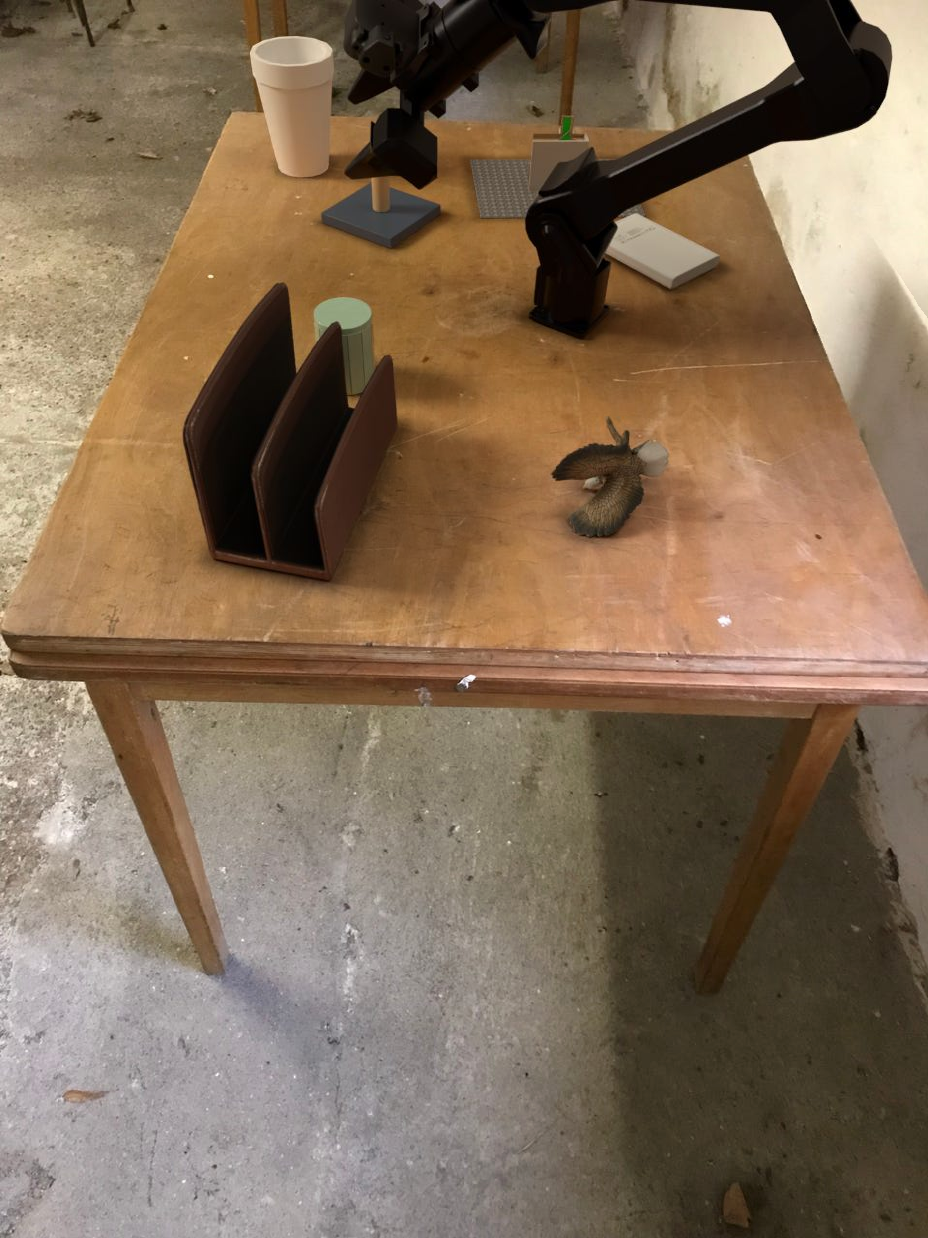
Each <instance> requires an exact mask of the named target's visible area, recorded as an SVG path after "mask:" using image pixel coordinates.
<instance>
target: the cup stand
mask: <svg viewBox="0 0 928 1238" xmlns="http://www.w3.org/2000/svg"><path fill="white" fill-rule="evenodd" d="M370 179H371V182H369V183H367V184H366V185H364V186H362V187H361V188H359V189H357V190H356V191H355V192H353V193H351V194H349V195H348V196H347V197H345V198H343V199H342V200H340V201H338V202H337V203H335V204H333V205H332V206H330V207H329V208H327V209H325V210H324V211H322V212H320V215H321V223H322V224H325V225H327V226H329V227H332V228H335V229H338V230H340V231H343V232H345V233H349V234H351V235H354V236H356V237H359V238H361V239H364V240H367V241H370V242H372V243H375V244H377V245H381V246H383V247H385V248H389V249H393V248H394V247H396V246H397V245H399V244H400V243H401V242H402V241H404V240H406V239H407V238H409V237H410V236H412V235H413V234H415V233H416V232H417V231H419V230H420V229H422V228H424V226H426V225H427V224H429V223H430V222H432V221H433V220H435V219H436V218H437V217H439V216H440V215H441V214H442V213H441V211H442V210H441V207H442V206H441V204H440V203H437V202H434V201H431V200H428V199H425V198H422V197H419V196H417V195H414V194H411V193H409V192H406V191H403V190H400V189H397V188H395V187H391V186H390V176H388V177H376V178H370Z"/></svg>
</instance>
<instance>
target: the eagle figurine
mask: <svg viewBox="0 0 928 1238" xmlns="http://www.w3.org/2000/svg"><path fill="white" fill-rule="evenodd" d="M605 423H606V428H607V429H608V432H609V433H610V436H611V437H612V439H613V440H614V441H615V444H612V443H610V444H604V443H602V444H599V443H597V442H593V443H588V444H587V445H583V446H582V447H579V448H577V449H576V450H575V449H574V450H573V451H571V452H570V453H568V454H566V455H565V457H563V458H561V460H560V461H559V463H558V464H556V465H555V467H554V469H553V470H552V472H550V476H551V478H552V479H554V481H555V482H562V481H573V480H574V481H584V485H583V486H582V489H583V490H584V489H588V490H592V489H595V488H598V487H599V486H601V487H600V488H599V489H598V491H597V492H596V493H594V494H593V496H592V497H591V498H590V499H588V501H587V502H586V503H584V504H583V505H582V506H580V507H579V508H577V509H576V510H574V511H573V512H571V513H570V514H569V515H568V519H569V520H570V521H569V525H570V526H571V527H572V531H573V532H574V533H577V535H578V536H587V537H593V536H596V535H597V537H602V536H610V535H612V534H614V533H615V532H617V531H619V530H620V529H621V528H622V527H624V525H625V523H626V521H628V519H629V518H630V517H631V514H633V512H634V511H636V509H637V507H639V506H640V505H641V504H642V502H643V499H644V498H643V497H644V496H645V492H644V491H645V488H643V482H642V481H641V480H642V477H641V475H642V476H645V477H649V478H654V479H657V478H660V477H661V476H662V475H663V473H664V471H665V469H666V468H667V465H668V464H669V457H670V454H669V452H668V449H667V448H666V447H665V446H664V445H663V444H662V443H660V442H659V441H656V440H650V439H647V440H646V441H644V442H642V443H640V444H638V445H637V446H636V447H633V448H631V445H630V435H631V432H630V431H629V430H628V429H625V430H624V431H623V433H622V435H620V433H619V431H617V429H616V427H615V426H614V423H613V420H612V418H611V417H610V416H609V415H607V416H606V417H605Z"/></svg>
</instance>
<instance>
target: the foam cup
mask: <svg viewBox="0 0 928 1238" xmlns="http://www.w3.org/2000/svg"><path fill="white" fill-rule="evenodd" d="M249 57H250V64H251V71H252V76H253V77H254V78H255V83H256V86H257V90H258V94H259V98H260V101H261V105H262V109H263V114H264V118H265V121H266V126H267V129H268V133H269V137H270V141H271V145H272V149H273V153H274V156H275V157H274V158H275V161H276V163H277V168H278V169H279V171H280V172H281V174H284V175H286V176H288V177H294V178H314V177H316V176H320V175H323V173H325V172H326V171H328V170H329V165H330V164H329V163H330V162H329V161H330V147H331V146H330V145H331V124H332V123H331V121H332V119H331V118H332V99H333V98H332V96H333V95H332V94H333V93H332V92H333V77H334V74H335V63H334V52H333V47H331V46H330V45H329V43H327V42H325V41H322V40H319V39H317V38H315V37H309V36H308V37H307V36H301V35H300V36H299V35H293V36H292V35H291V36H276V37H272V38H267V39H263V40H262V41H260V42H258V43H255V44H254V45H252V47H251V49H250V51H249Z"/></svg>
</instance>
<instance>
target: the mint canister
mask: <svg viewBox="0 0 928 1238" xmlns="http://www.w3.org/2000/svg"><path fill="white" fill-rule="evenodd" d="M336 321H338V322H339V323H340V325H341V328H342V343H343V354H344V366H345V378H346V390H347V396H355V395H359V394H362V392H363V390H364V388H365V387H366V385H367V383H368V382H369V379H370V378H371V376H372V374H373V372H374V371H375V369H376V368H377V366H376V353H375V352H376V351H375V349H376V348H375V331H374V316H373V310H372V308H371V306H370V305H369V304H368V303H366V302H365V301H363V300H361V299H358V298H355V297H348V296H341V297H339V296H338V297H333V298H328V299H326V300H324V301H322V302H320V303H319V304H318V305H316V307H315V309H314V310H313V321H312V322H313V329H314V338H315V339H314V340H315V343H316V342H317V341H318V340H319V339H320V337H321V336H322V335H323V333H324V332H325V331H326V329H327V328H328V327H329V326H330V325H331V324H332V323H334V322H336Z"/></svg>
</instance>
